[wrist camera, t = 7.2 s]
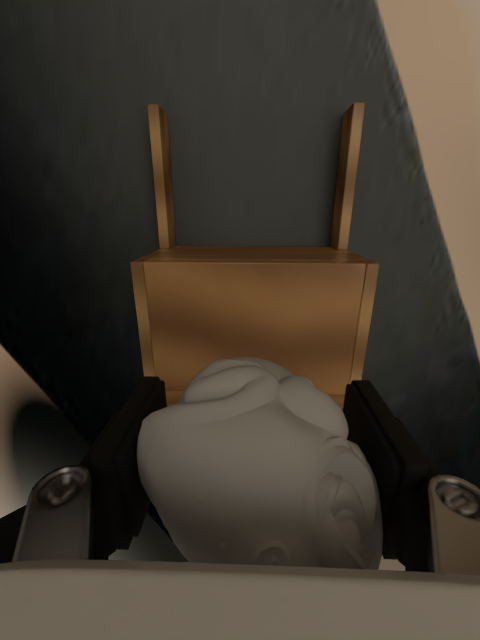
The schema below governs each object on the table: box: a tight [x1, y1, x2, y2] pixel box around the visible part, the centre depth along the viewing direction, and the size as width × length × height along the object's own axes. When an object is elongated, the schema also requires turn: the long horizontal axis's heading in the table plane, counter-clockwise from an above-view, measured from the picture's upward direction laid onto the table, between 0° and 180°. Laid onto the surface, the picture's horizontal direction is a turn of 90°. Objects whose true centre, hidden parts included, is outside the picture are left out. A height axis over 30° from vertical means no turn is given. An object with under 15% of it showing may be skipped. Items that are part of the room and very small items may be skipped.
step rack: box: [130, 102, 380, 412], centre depth 22 cm, size 20×15×10 cm
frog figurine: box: [137, 357, 383, 570], centre depth 9 cm, size 6×7×7 cm
